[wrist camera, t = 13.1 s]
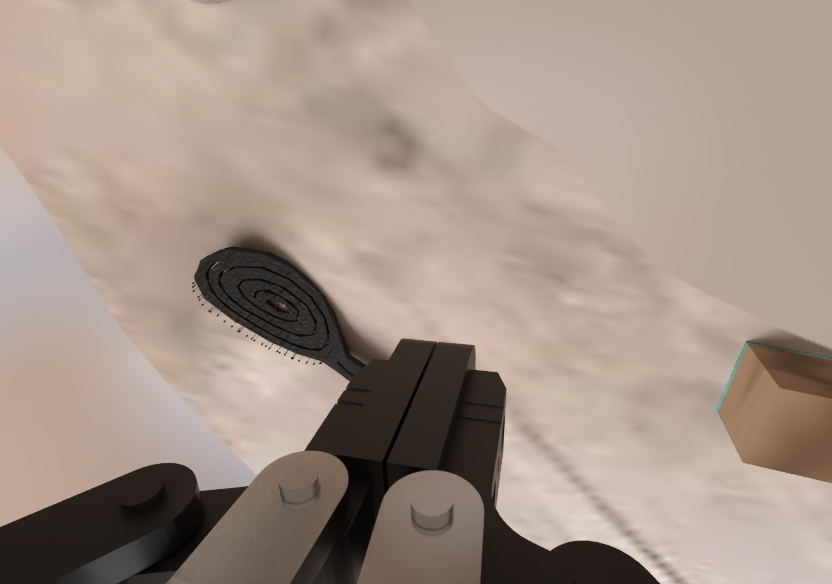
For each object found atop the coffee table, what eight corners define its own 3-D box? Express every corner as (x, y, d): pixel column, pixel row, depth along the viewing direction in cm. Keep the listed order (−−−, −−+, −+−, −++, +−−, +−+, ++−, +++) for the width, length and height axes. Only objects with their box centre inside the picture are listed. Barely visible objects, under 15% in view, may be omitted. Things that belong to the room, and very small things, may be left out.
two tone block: (845, 486, 31) (802, 426, 36) (893, 411, 28) (839, 358, 34) (742, 462, 32) (715, 407, 37) (779, 388, 30) (745, 340, 35)
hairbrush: (408, 462, 44) (174, 305, 42) (417, 435, 48) (199, 288, 46) (462, 408, 40) (207, 233, 38) (467, 382, 44) (232, 219, 42)
